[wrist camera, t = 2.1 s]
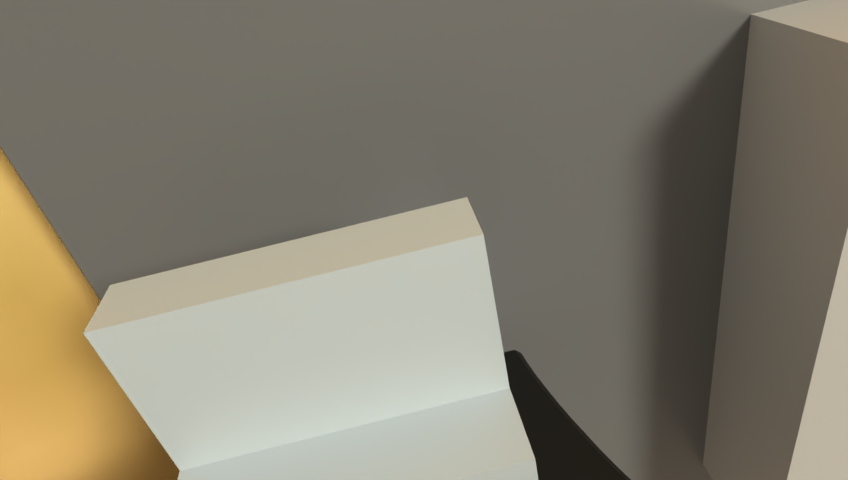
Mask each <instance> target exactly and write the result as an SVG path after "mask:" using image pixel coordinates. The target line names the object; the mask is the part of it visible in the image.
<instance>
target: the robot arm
mask: <svg viewBox="0 0 848 480" xmlns="http://www.w3.org/2000/svg"><path fill="white" fill-rule="evenodd" d="M504 358H505V363H506V369H507V375H508V381H509V387H510V390H511V393H512V396H513V399H514V401H515V404H516V407H517V410H518V412H519V415H520V418H521V421H522V424H523V426H524V429H525V432H526V435H527V437H528V440H529V443H530V446H531V449H532V451H533V454H534V457H535V461H536V467H537V474H538V480H631V479H630V478H629V477H628V476H626V475H625V474H624V473H623V472H622V471H621V470H620V469H619V468H618V467H617V466H616V465H615V464H614V463H613V462H612V461H611V460H610V459H609V458H608V457H607V456H606V455H605V454H604V453H603V452H602V451H601V450H600V449H599V448H598V446H597V445H596V444H595V443H594V442H593V441H592V440H591V439H590V438H589V437H588V436H587V435H586V433H585V432H584V431H583V430H582V429H581V428H580V427H579V426H578V425H577V424H576V423H575V421H574V420H573V419H572V418H571V417H570V416H569V415H568V414H567V412H566V411H565V410H564V409H563V408H562V407H561V406H560V404H559V403H558V402H557V401H556V399H555V398H554V397H553V396H552V395H551V393H550V392H549V391H548V390H547V388H546V387H545V386H544V385H543V383H542V382H541V381H540V379H539V378H538V377H537V375H536V374H535V373H534V371H533V370H532V368H531V367H530V366H529V364H528V363H527V361H526V360H525V358H524V356H523V355H522V353H520V352H518V351H516V350H511V351H507V352H504Z"/></svg>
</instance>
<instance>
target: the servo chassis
mask: <svg viewBox="0 0 848 480" xmlns="http://www.w3.org/2000/svg"><path fill="white" fill-rule="evenodd" d="M0 147H1V149H2V150H3V152H4V153H5V155H6V156H7V158H8V159H9V161H10V163H11V164H12V166H13V167H14V169H15V170H16V172H17V173H18V175H19V176H20V178H21V179H22V181H23V182H24V184H25V185H26V187H27V189H28V190H29V192H30V193H31V195H32V196H33V198H34V199H35V201H36V202H37V204H38V205H39V207H40V208H41V210H42V211H43V213H44V215H45V216H46V218H47V219H48V221H49V222H50V224H51V225H52V227H53V228H54V230H55V231H56V233H57V234H58V236H59V238H60V239H61V241H62V242H63V244H64V245H65V247H66V248H67V250H68V251H69V253H70V254H71V256H72V257H73V259H74V260H75V262H76V264H77V265H78V267H79V268H80V270H81V271H82V273H83V274H84V276H85V277H86V279H87V280H88V282H89V283H90V285H91V286H92V288H93V290H94V291H95V293H96V294H97V296H98V297H99V299H100V300H102V299H103V297H104V295H105V293H106V291H107V290H108V288H109V286H110V285H112V284H116V283H120V282H124V281H128V280H132V279H136V278H141V277H145V276H149V275H153V274H157V273H161V272H165V271H169V270H173V269H177V268H181V267H185V266H189V265H193V264H197V263H201V262H205V261H209V260H214V259H218V258H222V257H226V256H230V255H234V254H238V253H242V252H246V251H250V250H254V249H258V248H262V247H266V246H270V245H274V244H278V243H282V242H287V241H291V240H295V239H299V238H303V237H307V236H311V235H315V234H319V233H323V232H327V231H331V230H335V229H339V228H343V227H347V226H351V225H355V224H360V223H364V222H368V221H372V220H376V219H380V218H384V217H388V216H392V215H396V214H400V213H404V212H408V211H412V210H416V209H420V208H424V207H429V206H433V205H437V204H441V203H445V202H449V201H453V200H457V199H461V198H465V197H467V198H468V200H469V203H470V205H471V207H472V209H473V212H474V214H475V216H476V218H477V221H478V223H479V225H480V227H481V230H482V232H483V234H484V240H485V246H486V252H487V257H488V263H489V269H490V275H491V281H492V287H493V293H494V299H495V305H496V310H497V316H498V322H499V328H500V334H501V340H502V346H503V352H507V351H511V350H516V351H518V352H520V353H522V355H523V356H524V358H525V360H526V361H527V363H528V364H529V366H530V367H531V368H532V370H533V371H534V373H535V374H536V375H537V377H538V378H539V379H540V381H541V382H542V383H543V385H544V386H545V387H546V388H547V390H548V391H549V392H550V393H551V395H552V396H553V397H554V398H555V399H556V401H557V402H558V403H559V404H560V406H561V407H562V408H563V409H564V410H565V411H566V412H567V414H568V415H569V416H570V417H571V418H572V419H573V420H574V421H575V423H576V424H577V425H578V426H579V427H580V428H581V429H582V430H583V431H584V432H585V433H586V435H587V436H588V437H589V438H590V439H591V440H592V441H593V442H594V443H595V444H596V445H597V446H598V448H599V449H600V450H601V451H602V452H603V453H604V454H605V455H606V456H607V457H608V458H609V459H610V460H611V461H612V462H613V463H614V464H615V465H616V466H617V467H618V468H619V469H620V470H621V471H622V472H623V473H624V474H625V475H626V476H628V477H629V478H630V479H631V480H848V0H0Z"/></svg>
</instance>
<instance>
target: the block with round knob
mask: <svg viewBox="0 0 848 480" xmlns="http://www.w3.org/2000/svg"><path fill="white" fill-rule="evenodd" d="M83 334H84V335H85V337H86V338H87V340H88V341H89V342H90V344H91V345H92V347H93V348H94V349H95V351H96V352H97V354H98V355H99V357H100V358H101V359H102V361H103V362H104V364H105V365H106V367H107V368H108V369H109V371H110V372H111V374H112V375H113V376H114V378H115V379H116V381H117V382H118V384H119V385H120V386H121V388H122V389H123V391H124V392H125V394H126V395H127V396H128V398H129V399H130V401H131V402H132V403H133V405H134V406H135V408H136V409H137V411H138V412H139V413H140V415H141V416H142V418H143V419H144V421H145V422H146V423H147V425H148V426H149V428H150V429H151V431H152V432H153V433H154V435H155V436H156V438H157V439H158V440H159V442H160V443H161V445H162V446H163V448H164V449H165V450H166V452H167V453H168V455H169V456H170V458H171V459H172V460H173V462H174V463H175V465H176V466H177V467H178V469H179V470H180V472H179V476H178V479H177V480H538V474H537V467H536V461H535V457H534V454H533V451H532V449H531V446H530V443H529V440H528V437H527V435H526V432H525V429H524V426H523V424H522V421H521V418H520V415H519V412H518V410H517V407H516V404H515V401H514V399H513V396H512V393H511V390H510V387H509V381H508V375H507V369H506V363H505V358H504V352H503V346H502V340H501V334H500V328H499V322H498V316H497V310H496V305H495V299H494V293H493V287H492V281H491V275H490V269H489V263H488V257H487V252H486V246H485V240H484V234H483V232H482V230H481V227H480V225H479V223H478V221H477V218H476V216H475V214H474V212H473V209H472V207H471V205H470V203H469V200H468V198H467V197H465V198H461V199H457V200H453V201H449V202H445V203H441V204H437V205H433V206H429V207H424V208H420V209H416V210H412V211H408V212H404V213H400V214H396V215H392V216H388V217H384V218H380V219H376V220H372V221H368V222H364V223H360V224H355V225H351V226H347V227H343V228H339V229H335V230H331V231H327V232H323V233H319V234H315V235H311V236H307V237H303V238H299V239H295V240H291V241H287V242H282V243H278V244H274V245H270V246H266V247H262V248H258V249H254V250H250V251H246V252H242V253H238V254H234V255H230V256H226V257H222V258H218V259H214V260H209V261H205V262H201V263H197V264H193V265H189V266H185V267H181V268H177V269H173V270H169V271H165V272H161V273H157V274H153V275H149V276H145V277H141V278H136V279H132V280H128V281H124V282H120V283H116V284H112V285H110V286H109V288H108V290H107V291H106V293H105V295H104V297H103V299H102V300H101V302H100V304H99V306H98V307H97V309H96V311H95V313H94V315H93V316H92V318H91V320H90V322H89V324H88V325H87V327H86V329H85V331H84V333H83Z"/></svg>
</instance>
